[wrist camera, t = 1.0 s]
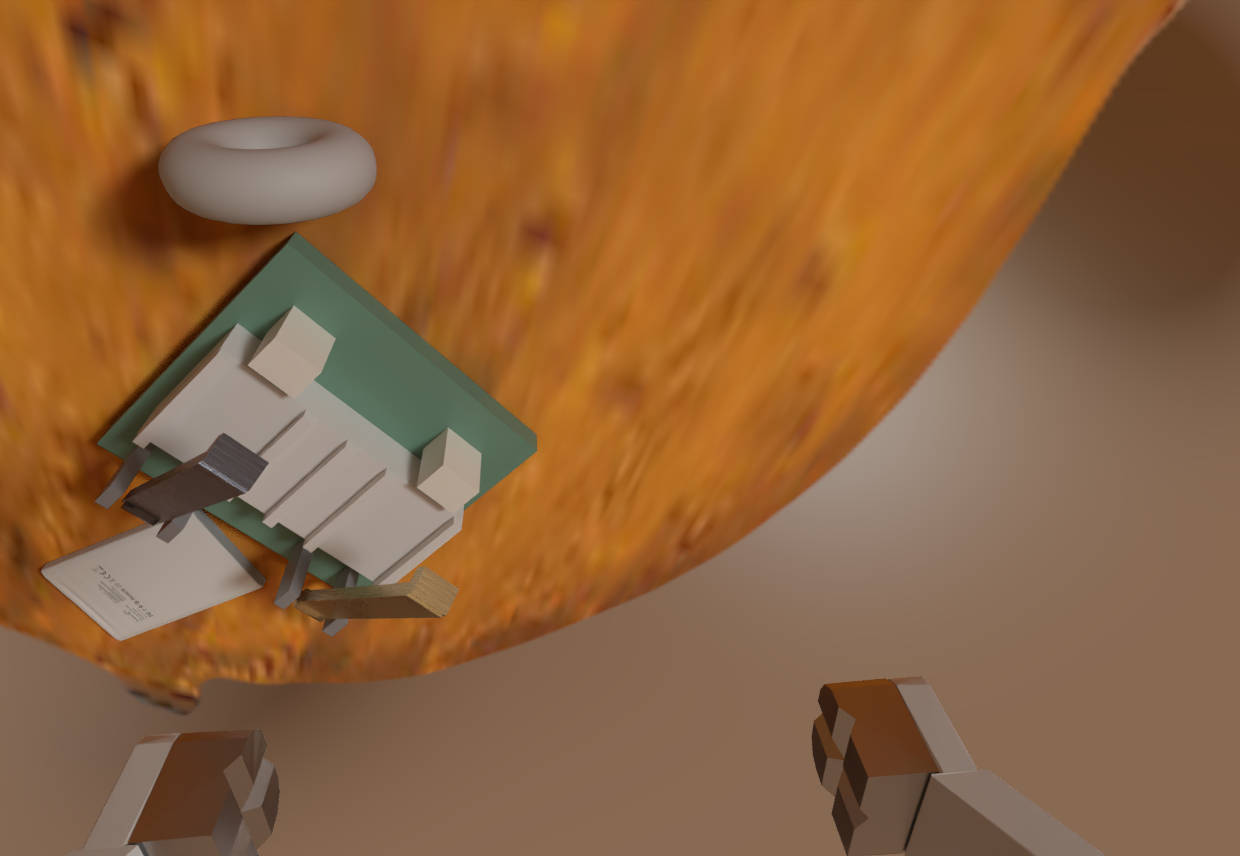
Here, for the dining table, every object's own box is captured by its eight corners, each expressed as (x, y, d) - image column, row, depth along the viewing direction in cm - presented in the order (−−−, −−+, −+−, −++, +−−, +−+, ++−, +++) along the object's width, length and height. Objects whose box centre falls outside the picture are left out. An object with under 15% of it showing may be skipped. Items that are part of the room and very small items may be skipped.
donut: (207, 175, 43) (135, 235, 35) (191, 108, 41) (110, 155, 33) (393, 176, 44) (365, 234, 36) (385, 112, 42) (354, 157, 34)
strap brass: (305, 579, 53) (288, 605, 52) (425, 566, 41) (407, 600, 40) (334, 596, 54) (318, 623, 53) (459, 589, 42) (442, 622, 41)
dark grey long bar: (137, 479, 47) (115, 506, 46) (223, 432, 36) (196, 468, 35) (174, 501, 48) (153, 528, 47) (269, 462, 37) (244, 498, 36)
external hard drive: (268, 574, 60) (127, 628, 61) (198, 497, 55) (48, 558, 56) (262, 589, 58) (119, 644, 60) (191, 512, 54) (37, 573, 55)
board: (110, 426, 51) (53, 497, 44) (295, 231, 45) (261, 280, 39) (358, 581, 60) (340, 657, 54) (536, 434, 55) (539, 500, 49)
